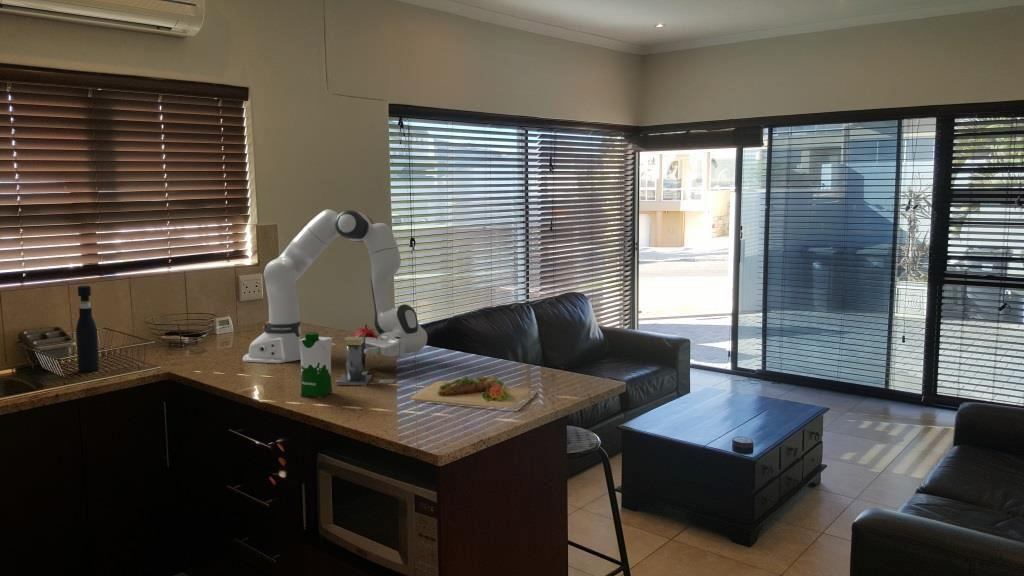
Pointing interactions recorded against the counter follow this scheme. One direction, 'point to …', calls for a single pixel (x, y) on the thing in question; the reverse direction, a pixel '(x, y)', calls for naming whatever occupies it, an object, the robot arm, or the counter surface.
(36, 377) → the counter surface
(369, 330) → the pomegranate
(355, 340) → the lever
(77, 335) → the dark blue bottle
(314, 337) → the milk carton
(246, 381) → the counter surface
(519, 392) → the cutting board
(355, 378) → the post
